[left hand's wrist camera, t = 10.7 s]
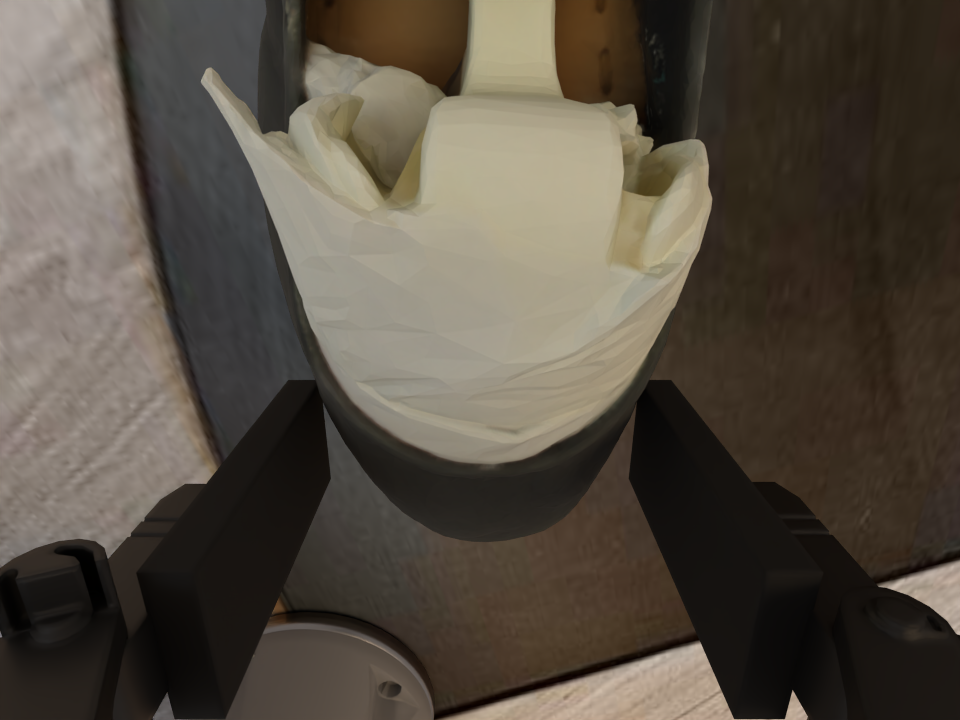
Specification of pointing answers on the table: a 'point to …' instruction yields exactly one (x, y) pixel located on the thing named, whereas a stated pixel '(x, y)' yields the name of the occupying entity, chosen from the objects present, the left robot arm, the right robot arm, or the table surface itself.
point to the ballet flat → (480, 232)
